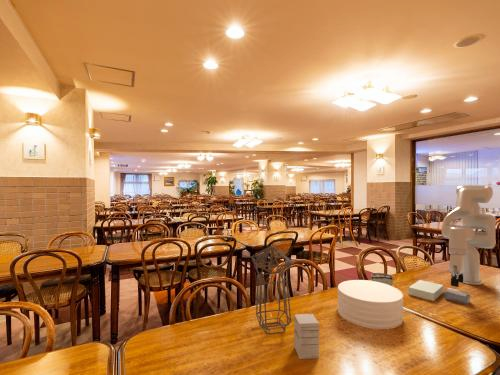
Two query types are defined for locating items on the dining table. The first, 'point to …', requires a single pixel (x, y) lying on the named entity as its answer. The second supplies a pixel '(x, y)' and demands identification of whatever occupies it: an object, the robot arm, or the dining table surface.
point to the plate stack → (370, 304)
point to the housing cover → (457, 292)
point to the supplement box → (306, 336)
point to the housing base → (457, 298)
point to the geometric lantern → (272, 282)
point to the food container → (382, 278)
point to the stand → (426, 290)
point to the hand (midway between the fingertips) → (457, 284)
